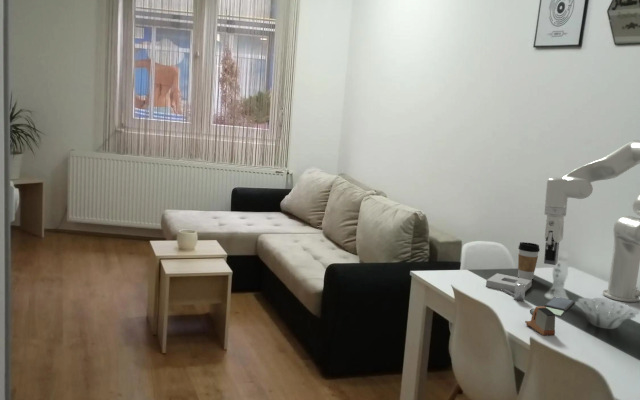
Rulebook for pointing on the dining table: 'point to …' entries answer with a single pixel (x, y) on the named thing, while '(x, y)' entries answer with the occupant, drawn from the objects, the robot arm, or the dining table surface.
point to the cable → (508, 292)
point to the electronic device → (542, 321)
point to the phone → (559, 303)
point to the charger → (555, 255)
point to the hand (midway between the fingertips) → (551, 258)
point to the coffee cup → (527, 260)
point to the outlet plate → (507, 282)
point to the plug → (519, 292)
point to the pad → (556, 311)
